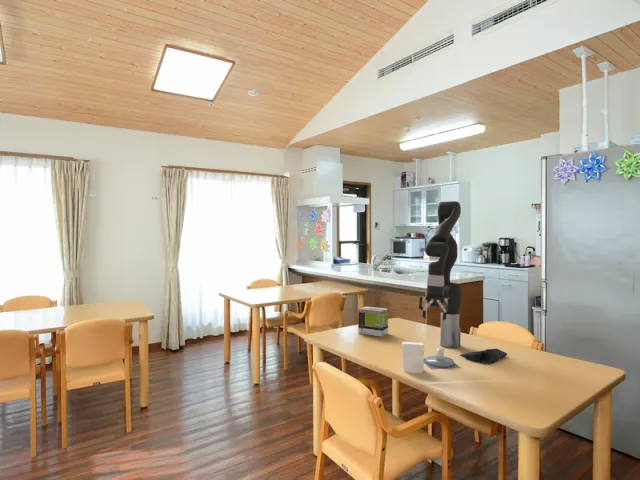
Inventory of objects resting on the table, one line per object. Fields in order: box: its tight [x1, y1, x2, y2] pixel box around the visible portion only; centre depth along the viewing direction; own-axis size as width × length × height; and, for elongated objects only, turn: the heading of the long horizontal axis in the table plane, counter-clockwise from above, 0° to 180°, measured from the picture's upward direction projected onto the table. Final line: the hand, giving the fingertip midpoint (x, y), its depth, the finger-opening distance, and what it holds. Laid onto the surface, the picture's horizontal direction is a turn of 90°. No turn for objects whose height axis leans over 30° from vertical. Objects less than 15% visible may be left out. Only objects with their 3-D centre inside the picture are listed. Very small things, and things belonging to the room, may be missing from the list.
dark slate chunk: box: [459, 348, 508, 365], centre depth 194 cm, size 15×22×5 cm
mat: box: [424, 357, 462, 370], centre depth 184 cm, size 14×14×1 cm
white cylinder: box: [401, 341, 425, 374], centre depth 175 cm, size 9×9×12 cm
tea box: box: [357, 306, 389, 337], centre depth 237 cm, size 15×10×15 cm, turn 58°
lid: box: [425, 347, 455, 368], centre depth 184 cm, size 12×12×6 cm
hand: (434, 319), depth 190 cm, fingers open, 8 cm apart
